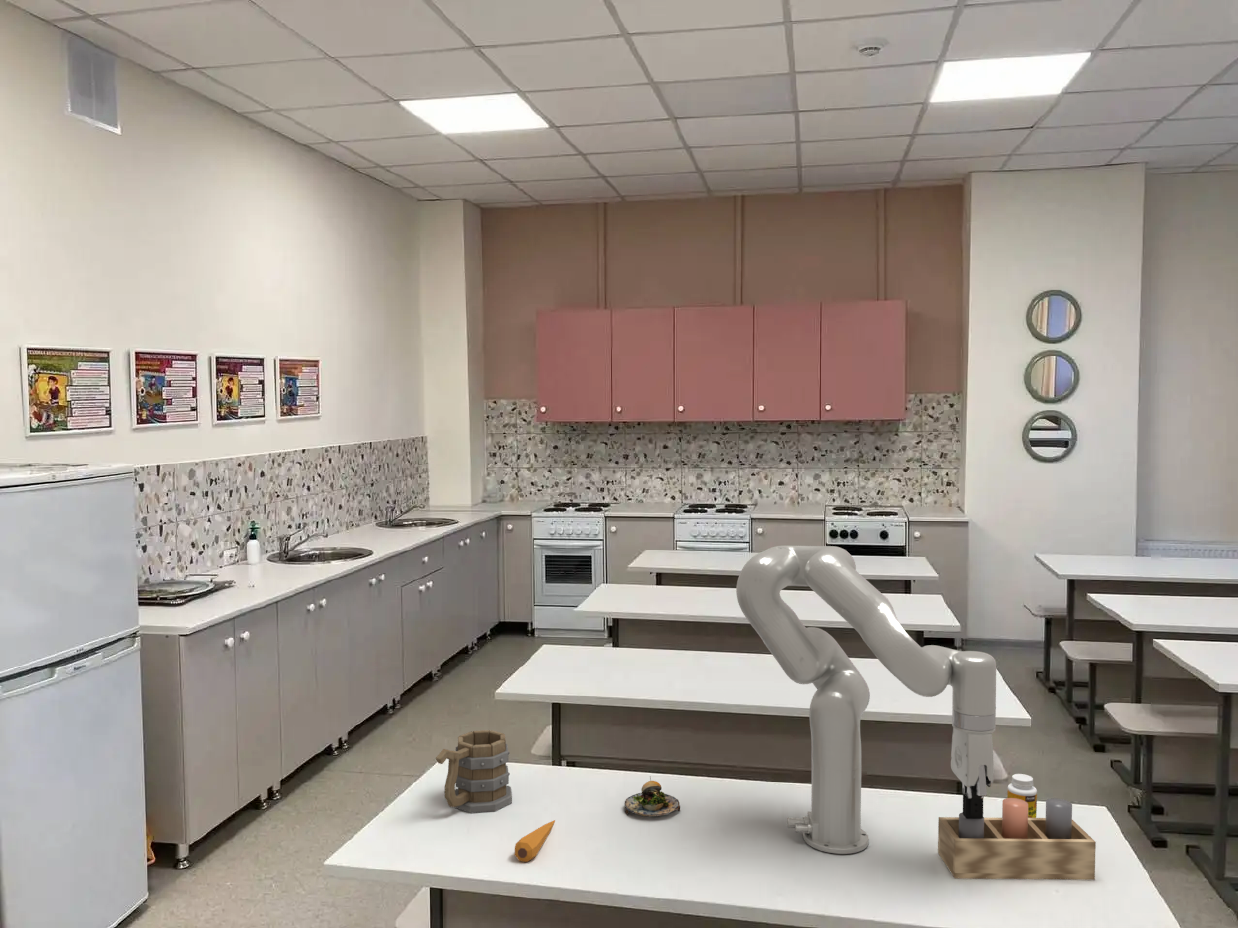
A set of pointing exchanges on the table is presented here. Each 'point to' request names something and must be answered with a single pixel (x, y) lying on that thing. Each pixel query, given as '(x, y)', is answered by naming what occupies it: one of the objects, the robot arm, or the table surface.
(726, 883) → the table surface
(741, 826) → the table surface
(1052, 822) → the plunger right
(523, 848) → the carrot
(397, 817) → the table surface
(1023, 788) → the supplement bottle
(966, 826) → the plunger left
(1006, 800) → the pink cylinder
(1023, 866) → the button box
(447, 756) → the tankard
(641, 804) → the burger
